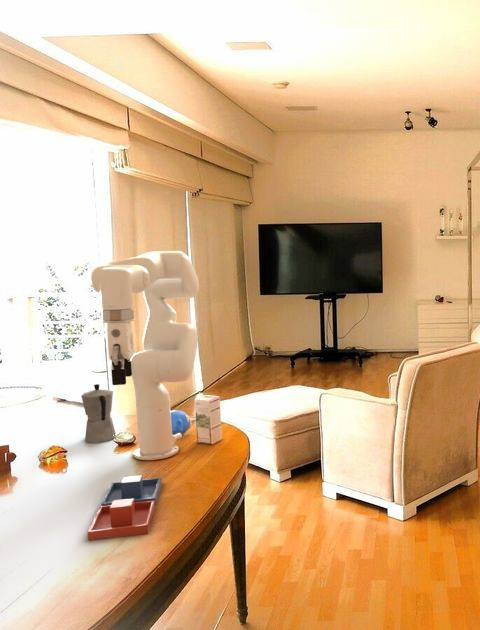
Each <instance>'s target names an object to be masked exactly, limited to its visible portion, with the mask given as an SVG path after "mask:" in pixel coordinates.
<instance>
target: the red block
mask: <svg viewBox="0 0 480 630" xmlns="http://www.w3.org/2000/svg"><path fill="white" fill-rule="evenodd" d="M110 517H111V527H113V526H122V525H131V524H133V521H134V518H135V506H134V498H132V499H122V500H113V502H112V505H111V507H110Z"/></svg>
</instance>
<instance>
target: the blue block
mask: <svg viewBox="0 0 480 630" xmlns="http://www.w3.org/2000/svg"><path fill="white" fill-rule="evenodd" d="M143 479H144V478H143V474H137V475H129V476H128V475H127V476H122V480H121V481H120V482H121V494H122V499H132V498H134V499H139V498H141V497H142V494H143V492H144V491H143Z"/></svg>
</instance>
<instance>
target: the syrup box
mask: <svg viewBox="0 0 480 630" xmlns="http://www.w3.org/2000/svg"><path fill="white" fill-rule="evenodd" d="M194 412H195V413H194V414H195V418H196V422H195V429H196V431H195V432H196V442H197V443H198V444H204V445H205V444H207V445H214V444H215V443H218V442H219V441H222V440H223V432H222V417H221V398H220V396H219V395H209V394H203V395H200V396H198V397H196V398H194Z"/></svg>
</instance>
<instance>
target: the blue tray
mask: <svg viewBox="0 0 480 630" xmlns="http://www.w3.org/2000/svg"><path fill="white" fill-rule="evenodd" d="M121 482H122V481H112V482H111V483H110V485H109V487H108V489H107V490H106V493H105V495H104V497H103V499H102V501H101V503H100V506H107V505H112V502H113V500H122V494H121ZM162 483H163V482H162V477H153V478H143V491H144V492H143V494H142V497H141V498H139V499H134V503H135V502H144V501H154V500H155V507H156V506H157V502H158V499H159V495H160V492H161V489H162V485H163V484H162Z"/></svg>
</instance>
